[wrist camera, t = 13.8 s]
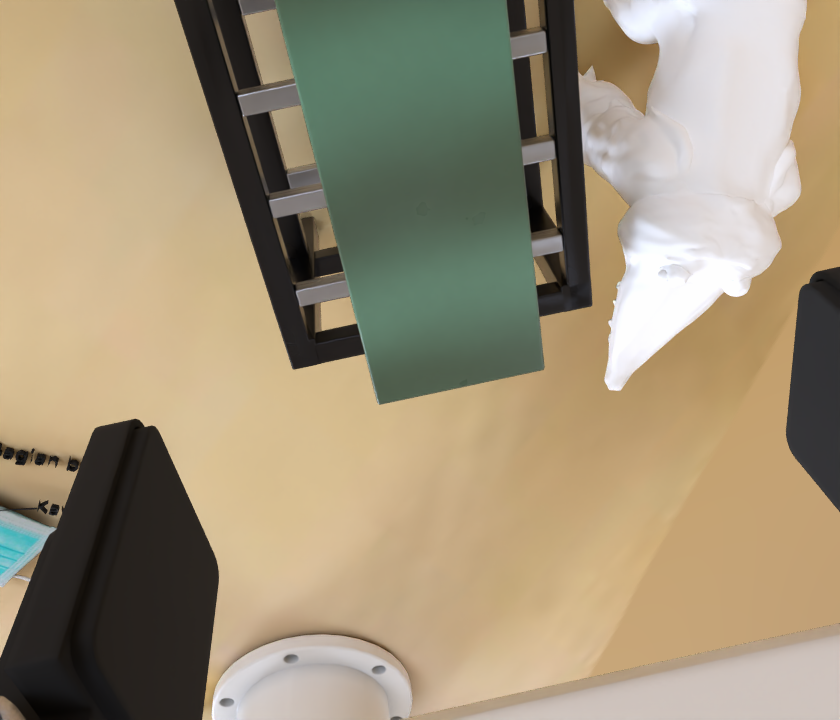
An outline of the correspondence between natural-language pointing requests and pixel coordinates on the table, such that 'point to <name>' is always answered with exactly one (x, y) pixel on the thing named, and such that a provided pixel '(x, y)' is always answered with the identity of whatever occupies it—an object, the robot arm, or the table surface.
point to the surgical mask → (23, 526)
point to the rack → (302, 191)
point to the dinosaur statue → (695, 160)
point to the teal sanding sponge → (422, 184)
